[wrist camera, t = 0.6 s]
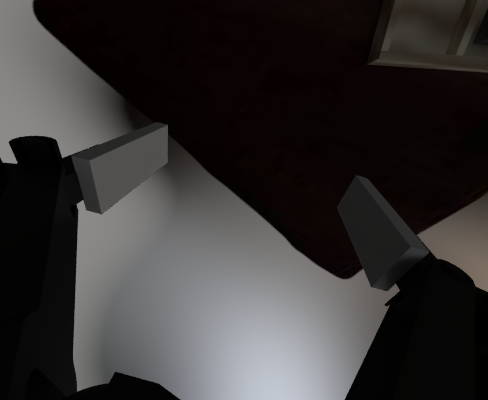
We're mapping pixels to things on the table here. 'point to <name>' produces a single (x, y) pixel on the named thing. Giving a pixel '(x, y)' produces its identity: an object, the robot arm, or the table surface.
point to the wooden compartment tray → (432, 35)
